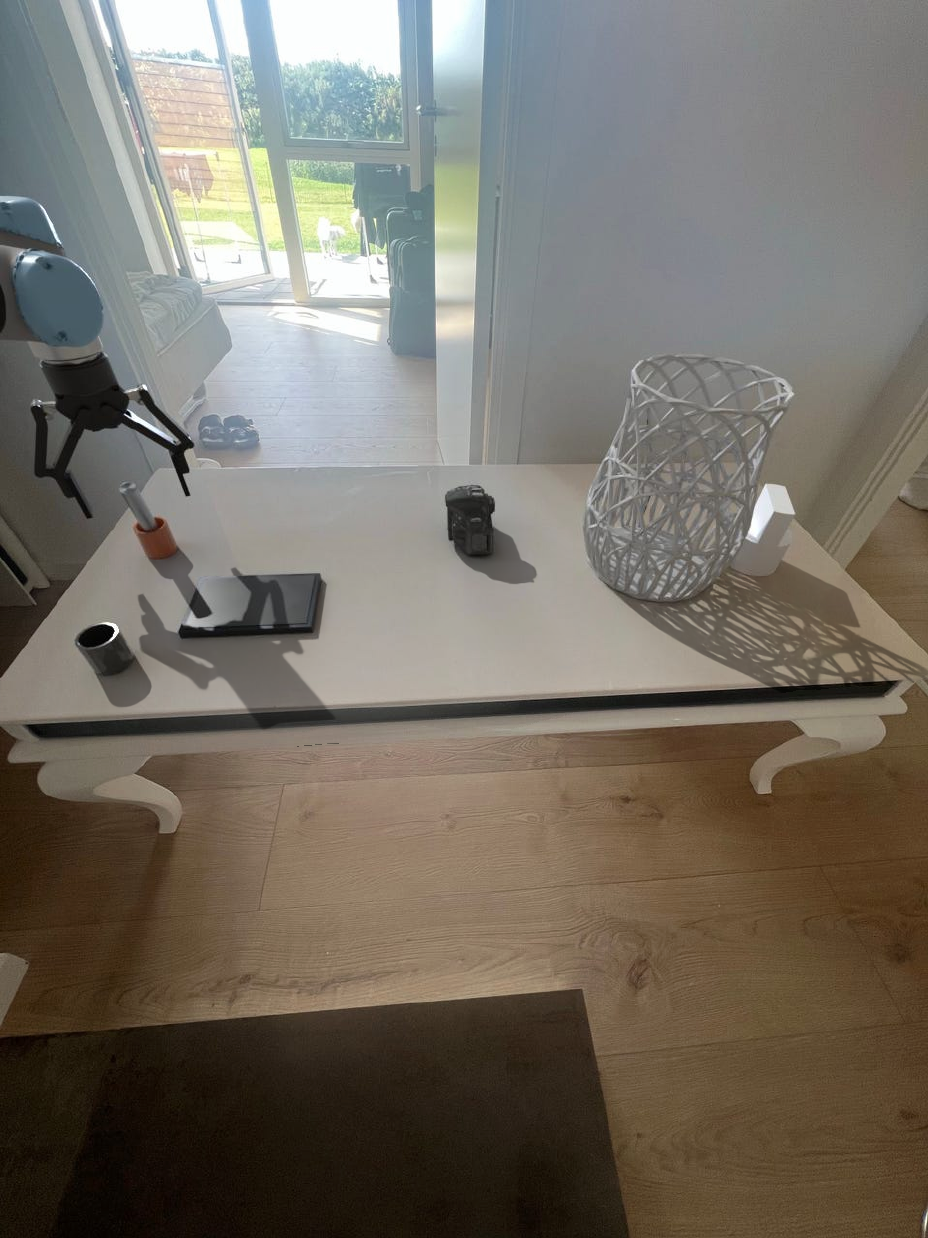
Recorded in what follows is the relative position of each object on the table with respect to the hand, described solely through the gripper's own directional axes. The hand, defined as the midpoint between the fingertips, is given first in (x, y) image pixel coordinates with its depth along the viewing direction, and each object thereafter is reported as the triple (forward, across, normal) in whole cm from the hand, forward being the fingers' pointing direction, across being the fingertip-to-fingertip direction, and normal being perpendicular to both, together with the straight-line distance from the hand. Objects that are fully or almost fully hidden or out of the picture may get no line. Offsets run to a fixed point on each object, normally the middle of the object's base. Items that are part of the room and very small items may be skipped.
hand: (139, 502), depth 80 cm
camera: (+9, -47, +21) cm, 52 cm away
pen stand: (+9, +9, +23) cm, 26 cm away
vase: (+9, -70, +41) cm, 82 cm away
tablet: (+9, -10, +21) cm, 25 cm away
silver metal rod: (+9, 0, -1) cm, 9 cm away
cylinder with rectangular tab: (+9, -86, +49) cm, 100 cm away
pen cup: (+9, 0, 0) cm, 9 cm away
